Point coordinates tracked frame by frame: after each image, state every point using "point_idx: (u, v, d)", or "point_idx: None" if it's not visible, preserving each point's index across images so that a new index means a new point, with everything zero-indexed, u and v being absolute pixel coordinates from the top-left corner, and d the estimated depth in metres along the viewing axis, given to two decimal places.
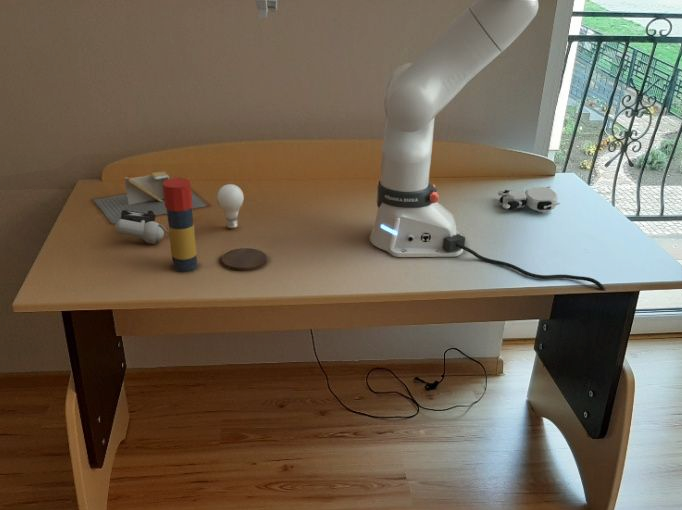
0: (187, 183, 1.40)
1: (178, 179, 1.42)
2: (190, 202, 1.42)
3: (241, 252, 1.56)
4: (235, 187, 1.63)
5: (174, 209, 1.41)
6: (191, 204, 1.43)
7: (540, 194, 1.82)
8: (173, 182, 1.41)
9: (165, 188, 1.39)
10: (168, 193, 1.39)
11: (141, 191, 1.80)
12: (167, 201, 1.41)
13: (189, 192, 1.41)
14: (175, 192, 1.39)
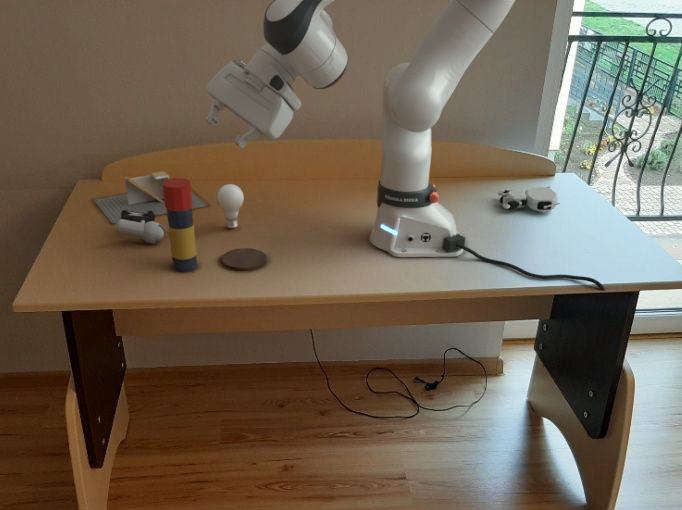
0: (187, 183, 1.40)
1: (178, 179, 1.42)
2: (190, 202, 1.42)
3: (241, 252, 1.56)
4: (235, 187, 1.63)
5: (174, 209, 1.41)
6: (191, 204, 1.43)
7: (540, 194, 1.82)
8: (173, 182, 1.41)
9: (165, 188, 1.39)
10: (168, 193, 1.39)
11: (141, 191, 1.80)
12: (167, 201, 1.41)
13: (189, 192, 1.41)
14: (175, 192, 1.39)
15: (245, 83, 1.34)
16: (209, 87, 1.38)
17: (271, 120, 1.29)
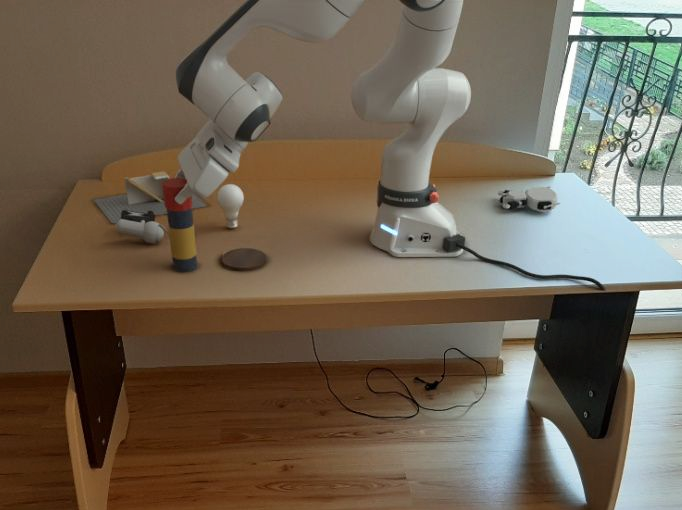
0: None
1: (178, 179, 1.42)
2: (190, 202, 1.42)
3: (241, 252, 1.56)
4: (235, 187, 1.63)
5: (174, 209, 1.41)
6: (191, 204, 1.43)
7: (540, 194, 1.82)
8: (173, 182, 1.41)
9: (165, 188, 1.39)
10: (168, 193, 1.39)
11: (141, 191, 1.80)
12: (167, 201, 1.41)
13: None
14: (175, 192, 1.39)
15: None
16: (179, 156, 1.46)
17: (197, 177, 1.32)
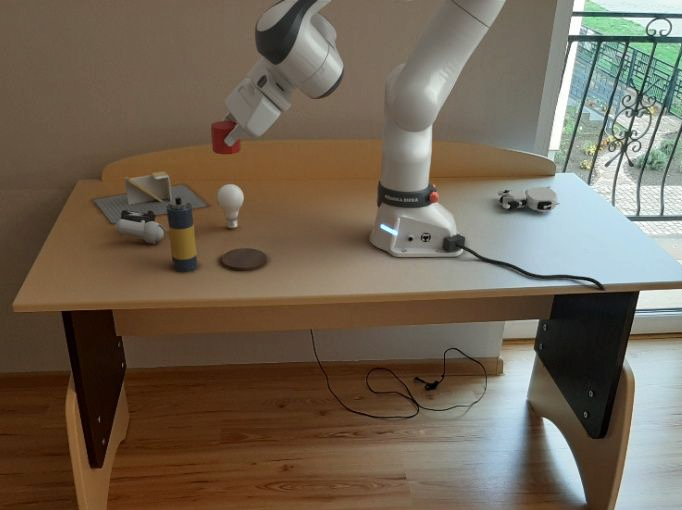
0: None
1: (226, 122, 1.39)
2: (239, 145, 1.39)
3: (241, 252, 1.56)
4: (235, 187, 1.63)
5: (222, 152, 1.38)
6: (239, 148, 1.40)
7: (540, 194, 1.82)
8: (221, 124, 1.37)
9: (214, 130, 1.36)
10: (217, 135, 1.36)
11: (141, 191, 1.80)
12: (216, 144, 1.37)
13: None
14: (224, 134, 1.36)
15: (248, 90, 1.37)
16: (226, 100, 1.43)
17: (249, 115, 1.28)
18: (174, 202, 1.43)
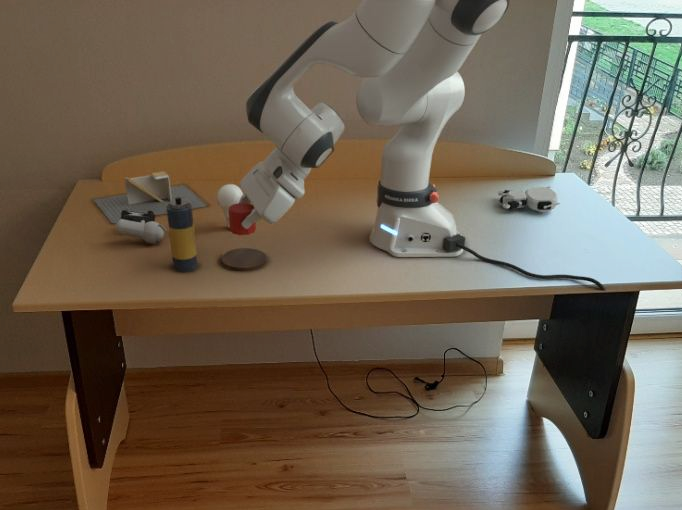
0: (252, 208, 1.47)
1: (242, 204, 1.48)
2: (254, 226, 1.49)
3: (241, 252, 1.56)
4: (235, 187, 1.63)
5: (239, 233, 1.47)
6: (255, 228, 1.49)
7: (540, 194, 1.82)
8: (238, 207, 1.47)
9: (231, 213, 1.46)
10: (234, 218, 1.46)
11: (141, 191, 1.80)
12: (233, 225, 1.47)
13: None
14: (241, 217, 1.45)
15: (263, 176, 1.47)
16: (241, 182, 1.53)
17: (266, 204, 1.38)
18: (174, 202, 1.43)
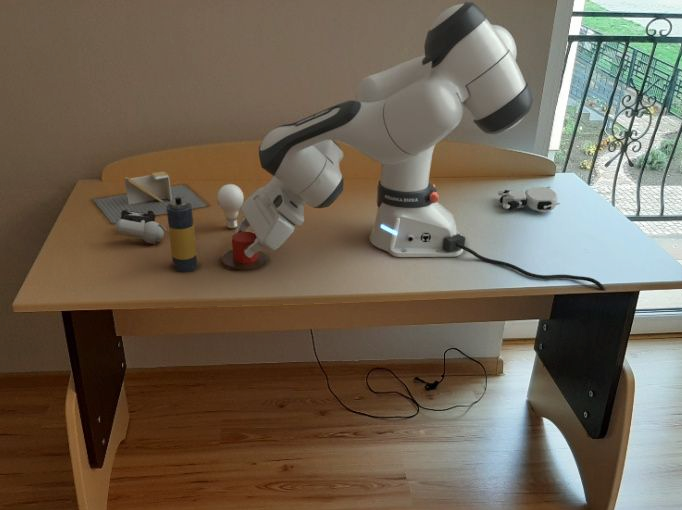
0: (254, 237, 1.51)
1: (245, 233, 1.53)
2: (257, 254, 1.53)
3: None
4: (235, 187, 1.63)
5: (242, 261, 1.51)
6: (257, 256, 1.53)
7: (540, 194, 1.82)
8: (241, 236, 1.51)
9: (235, 242, 1.50)
10: (238, 247, 1.50)
11: (141, 191, 1.80)
12: (236, 254, 1.51)
13: None
14: (244, 246, 1.49)
15: (263, 203, 1.50)
16: (242, 207, 1.57)
17: (267, 232, 1.42)
18: (174, 202, 1.43)
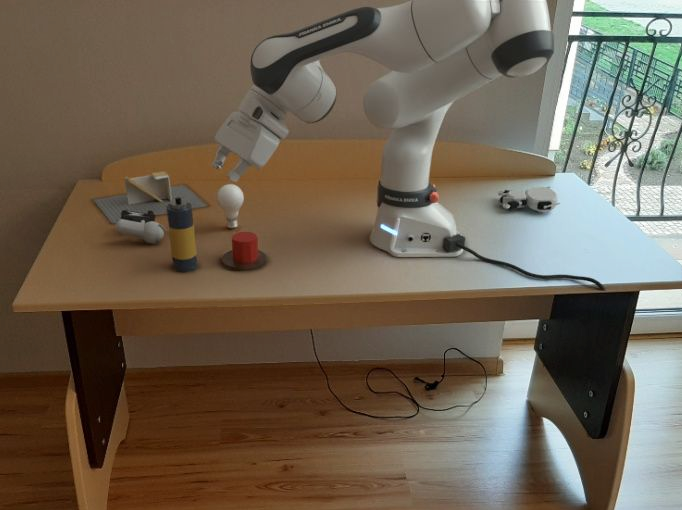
0: (254, 237, 1.51)
1: (245, 233, 1.53)
2: (257, 254, 1.53)
3: None
4: (235, 187, 1.63)
5: (242, 261, 1.51)
6: (257, 256, 1.53)
7: (540, 194, 1.82)
8: (241, 236, 1.51)
9: (235, 242, 1.50)
10: (238, 247, 1.50)
11: (141, 191, 1.80)
12: (236, 254, 1.51)
13: (256, 245, 1.52)
14: (244, 246, 1.49)
15: (240, 123, 1.39)
16: (216, 136, 1.45)
17: (252, 147, 1.31)
18: (174, 202, 1.43)
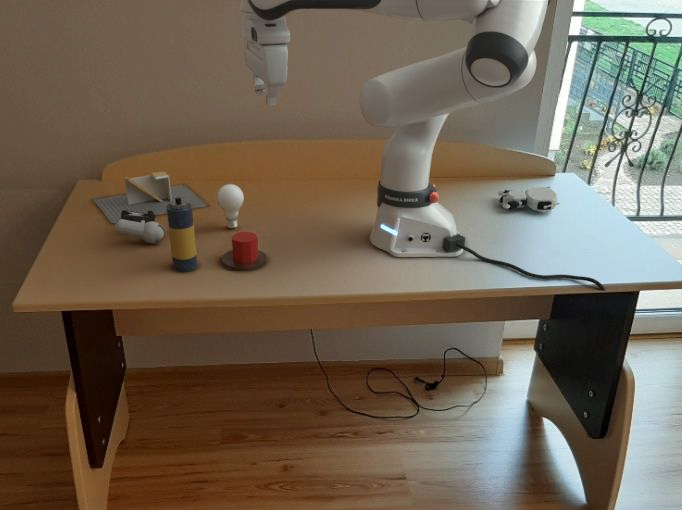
0: (254, 237, 1.51)
1: (245, 233, 1.53)
2: (257, 254, 1.53)
3: None
4: (235, 187, 1.63)
5: (242, 261, 1.51)
6: (257, 256, 1.53)
7: (540, 194, 1.82)
8: (241, 236, 1.51)
9: (235, 242, 1.50)
10: (238, 247, 1.50)
11: (141, 191, 1.80)
12: (236, 254, 1.51)
13: (256, 245, 1.52)
14: (244, 246, 1.49)
15: None
16: (246, 63, 1.46)
17: (265, 72, 1.31)
18: (174, 202, 1.43)
